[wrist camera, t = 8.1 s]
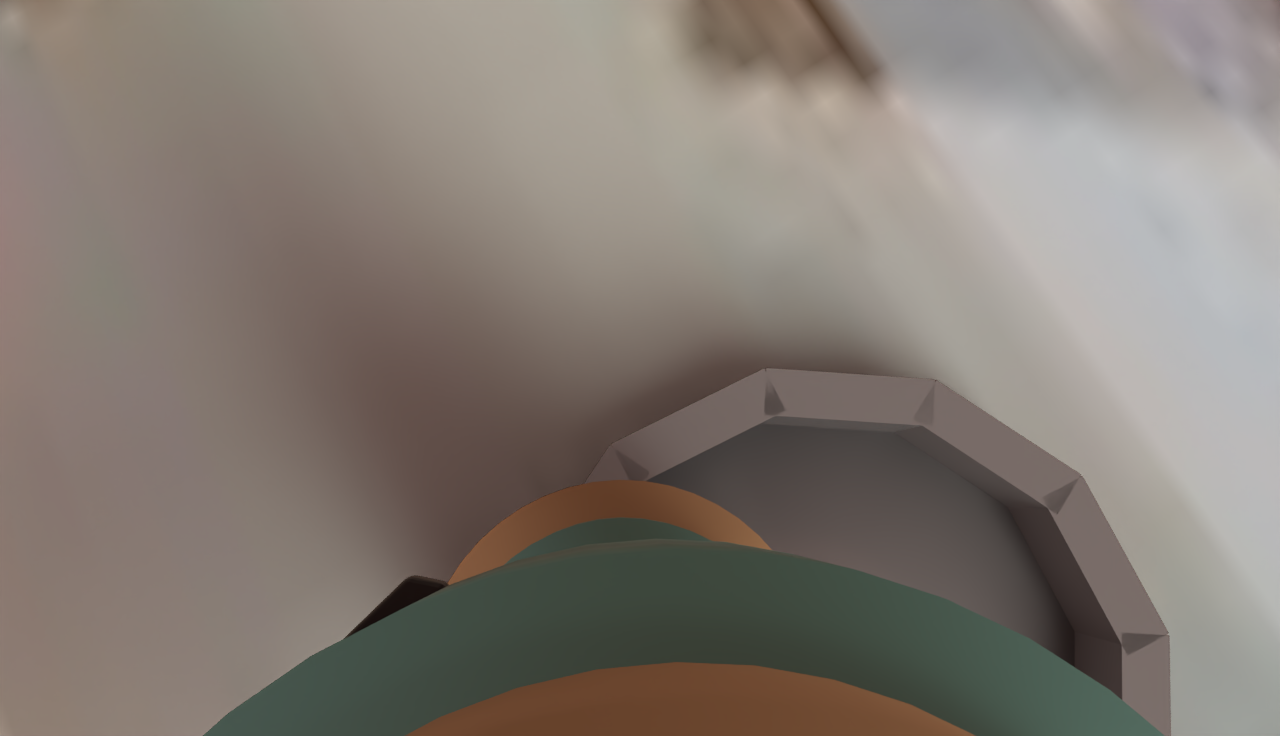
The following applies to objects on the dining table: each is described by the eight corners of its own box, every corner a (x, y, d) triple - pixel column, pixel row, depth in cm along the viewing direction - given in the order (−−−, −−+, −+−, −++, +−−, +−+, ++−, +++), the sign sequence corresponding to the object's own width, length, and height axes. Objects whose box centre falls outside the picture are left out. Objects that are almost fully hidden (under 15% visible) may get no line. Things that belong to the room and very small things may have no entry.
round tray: (904, 1123, 21) (954, 1226, 18) (396, 769, 22) (363, 811, 19) (1197, 595, 23) (1286, 608, 20) (722, 282, 24) (739, 251, 21)
